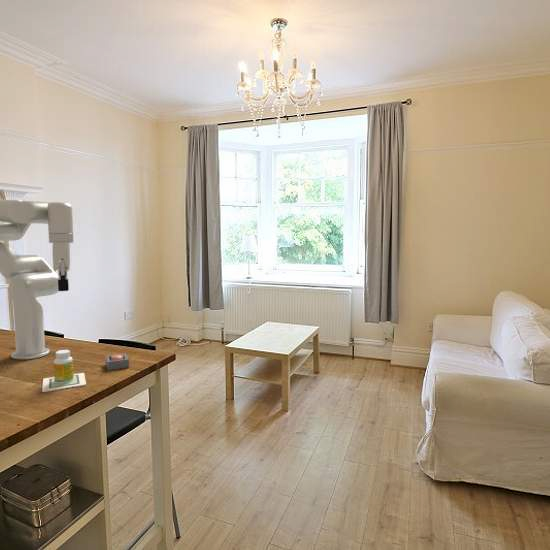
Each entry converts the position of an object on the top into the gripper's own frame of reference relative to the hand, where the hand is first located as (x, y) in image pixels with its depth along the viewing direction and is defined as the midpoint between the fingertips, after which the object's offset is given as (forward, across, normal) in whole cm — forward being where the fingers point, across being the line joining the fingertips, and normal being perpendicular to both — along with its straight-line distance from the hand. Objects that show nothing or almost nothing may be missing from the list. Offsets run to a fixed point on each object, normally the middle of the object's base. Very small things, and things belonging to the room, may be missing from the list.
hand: (63, 290), depth 140 cm
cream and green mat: (+27, +18, -1) cm, 33 cm away
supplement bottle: (+27, +18, -1) cm, 32 cm away
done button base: (+27, +9, +16) cm, 33 cm away
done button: (+26, +9, +16) cm, 32 cm away
